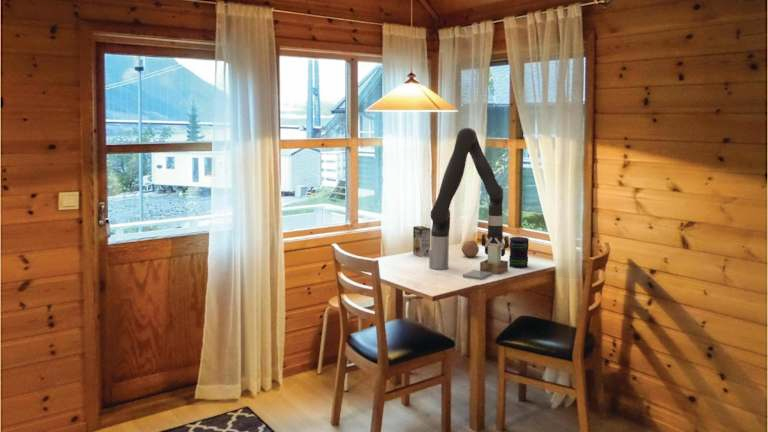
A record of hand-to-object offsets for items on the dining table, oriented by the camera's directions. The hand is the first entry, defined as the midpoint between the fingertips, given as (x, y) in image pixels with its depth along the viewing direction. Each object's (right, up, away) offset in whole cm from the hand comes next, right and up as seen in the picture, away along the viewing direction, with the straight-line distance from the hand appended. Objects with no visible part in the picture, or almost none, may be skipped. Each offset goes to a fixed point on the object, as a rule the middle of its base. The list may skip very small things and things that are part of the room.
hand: (494, 255), depth 339 cm
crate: (0, -8, +1) cm, 9 cm away
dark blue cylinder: (+15, -7, +13) cm, 21 cm away
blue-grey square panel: (-10, -10, -9) cm, 17 cm away
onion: (-8, -3, +36) cm, 37 cm away
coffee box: (-36, -3, +40) cm, 54 cm away
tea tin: (0, -8, +1) cm, 9 cm away
